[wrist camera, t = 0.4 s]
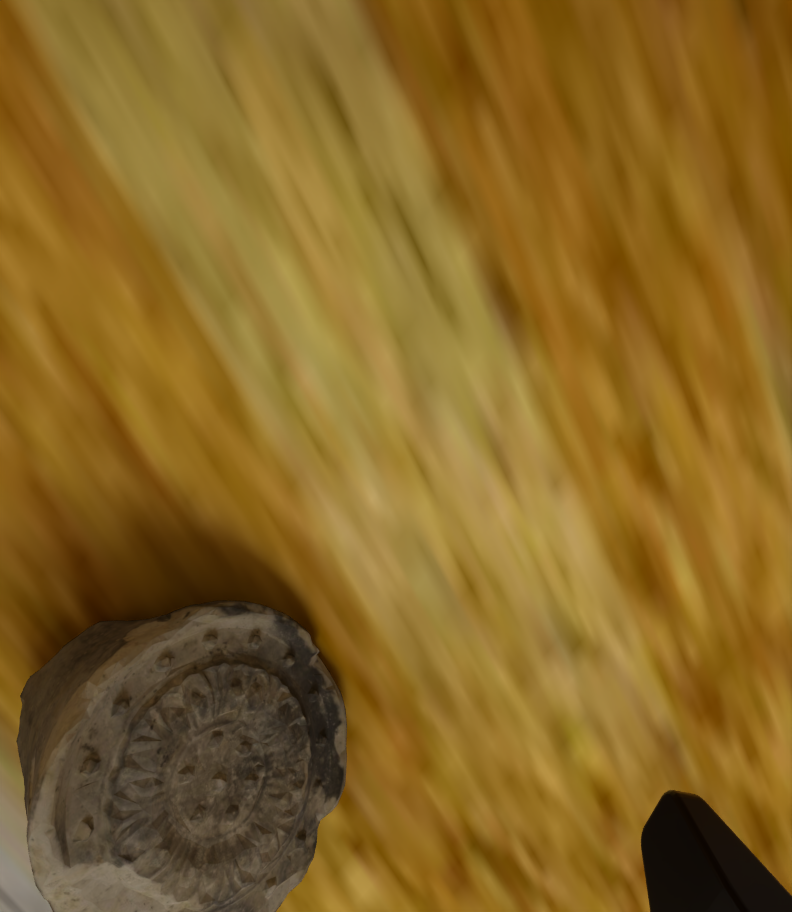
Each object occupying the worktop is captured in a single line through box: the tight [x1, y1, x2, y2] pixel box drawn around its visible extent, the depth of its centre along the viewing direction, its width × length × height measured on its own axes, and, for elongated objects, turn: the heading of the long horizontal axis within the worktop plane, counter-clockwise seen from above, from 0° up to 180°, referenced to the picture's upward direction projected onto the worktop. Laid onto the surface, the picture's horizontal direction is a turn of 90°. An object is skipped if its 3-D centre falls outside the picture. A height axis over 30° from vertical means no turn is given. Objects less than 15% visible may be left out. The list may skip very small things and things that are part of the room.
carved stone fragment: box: [17, 601, 347, 912], centre depth 22 cm, size 11×9×10 cm
